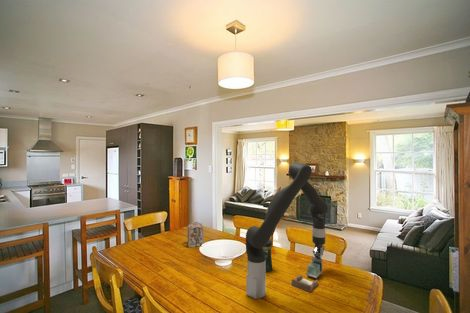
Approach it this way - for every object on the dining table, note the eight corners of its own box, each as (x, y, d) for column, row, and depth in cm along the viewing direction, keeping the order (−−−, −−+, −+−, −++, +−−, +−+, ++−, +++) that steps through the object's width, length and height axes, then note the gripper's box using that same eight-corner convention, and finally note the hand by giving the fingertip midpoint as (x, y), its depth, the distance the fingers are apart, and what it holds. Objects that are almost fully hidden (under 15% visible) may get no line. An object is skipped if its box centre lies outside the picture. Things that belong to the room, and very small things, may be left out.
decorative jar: (187, 242, 191) (187, 220, 191) (201, 241, 194) (201, 219, 195) (188, 248, 179) (188, 224, 180) (203, 246, 183) (204, 223, 183)
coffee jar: (273, 267, 148) (273, 237, 148) (271, 272, 140) (271, 241, 141) (258, 265, 151) (257, 236, 151) (255, 270, 143) (255, 240, 143)
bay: (310, 292, 120) (310, 286, 120) (291, 285, 126) (291, 279, 126) (318, 284, 128) (318, 278, 128) (300, 277, 134) (300, 272, 134)
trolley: (316, 280, 131) (316, 264, 131) (306, 276, 135) (306, 261, 135) (322, 274, 138) (322, 259, 138) (312, 271, 142) (312, 256, 142)
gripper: (320, 239, 135) (320, 269, 135) (328, 233, 145) (328, 261, 145) (308, 236, 140) (308, 265, 140) (317, 231, 150) (317, 258, 150)
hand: (318, 263), depth 142 cm, fingers closed
